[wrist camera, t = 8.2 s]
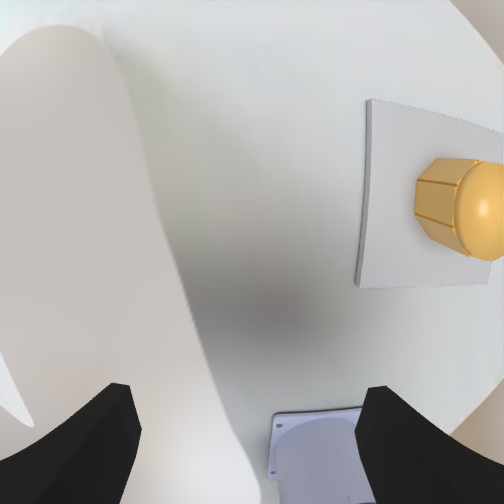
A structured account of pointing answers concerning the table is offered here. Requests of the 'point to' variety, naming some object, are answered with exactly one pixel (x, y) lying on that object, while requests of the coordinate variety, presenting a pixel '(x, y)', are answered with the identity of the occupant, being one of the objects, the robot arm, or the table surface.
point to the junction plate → (413, 196)
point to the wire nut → (463, 206)
